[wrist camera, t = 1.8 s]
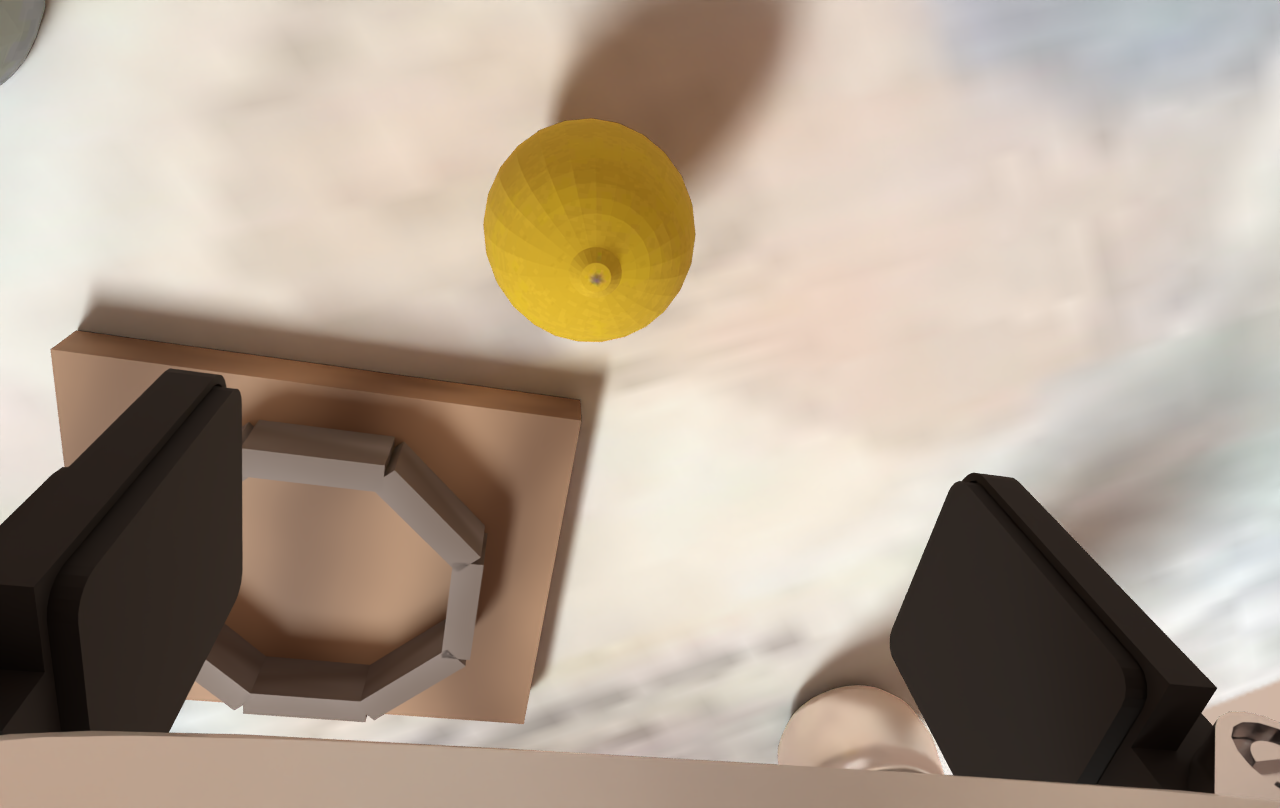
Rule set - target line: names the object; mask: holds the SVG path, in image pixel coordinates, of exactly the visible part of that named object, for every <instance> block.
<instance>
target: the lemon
mask: <svg viewBox="0 0 1280 808" xmlns="http://www.w3.org/2000/svg"><path fill="white" fill-rule="evenodd" d="M483 225H484V234H485V244H486V253H487V257H488V259H489V262H490V265H491V268H492V270H493V273H494V276H495V279H496V281H497V283H498V285H499V286H500V288H501V289H502V290H503V292H504V293H505V295H506V296H507V298H508V299H509V301H510V302H511V304H512V305H513V306H514V307H515V308H516V309H517V310H518V311H519V312H520V313H522V314H523V315H524V316H525V317H526V318H527V319H528V320H530V321H531V322H532V323H533V324H534V325H536V326H538V327H540V328H542V329H544V330H546V331H547V332H549V333H551V334H553V335H555V336H559V337H563V338H567V339H571V340H575V341H584V342H603V341H607V340H612V339H617V338H621V337H625V336H627V335H629V334H631V333H633V332H636V331H638V330H640V329H642V328H644V327H646V326H647V325H648V324H650V323H651V322H652V321H653V320H655V319H656V318H657V317H658V316H659V315H661V314H662V313H663V312H664V311H665V310H666V308H667V307H668V306H669V304H670V303H671V302H672V300H673V299H674V298H675V296H676V295H677V294H678V292H679V291H680V289H681V287H682V285H683V282H684V280H685V278H686V275H687V273H688V271H689V268H690V266H691V262H692V255H693V248H694V241H695V226H694V216H693V207H692V203H691V200H690V197H689V195H688V192H687V189H686V187H685V184H684V181H683V179H682V176H681V175H680V173H679V172H678V170H677V169H676V168H675V166H674V165H673V164H672V162H671V161H670V159H669V158H668V157H667V155H666V154H665V153H664V152H663V151H662V150H661V149H660V148H659V147H657V146H656V145H655V144H654V143H653V142H651V141H650V140H649V139H648V138H647V137H645V136H644V135H643V134H641V133H638V132H636V131H634V130H632V129H630V128H628V127H626V126H624V125H621V124H619V123H616V122H610V121H604V120H599V119H593V118H589V119H579V120H568V121H563V122H560V123H558V124H555V125H552V126H549V127H547V128H544V129H541V130H539V131H538V132H537V133H535V134H534V135H532V136H531V137H530V138H528V139H527V140H525V141H524V142H523V143H521V144H520V145H519V146H517V148H516V149H515V150H514V151H513V153H512V154H511V155H510V156H509V157H508V159H507V160H506V161H505V162H504V164H503V165H502V166H501V167H500V169H499V172H498V174H497V176H496V178H495V180H494V183H493V185H492V187H491V189H490V191H489V194H488V198H487V204H486V211H485V217H484V224H483Z"/></svg>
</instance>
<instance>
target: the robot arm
mask: <svg viewBox="0 0 1280 808" xmlns="http://www.w3.org/2000/svg"><path fill="white" fill-rule="evenodd" d="M242 571H243V541H242V397H241V393H240V391H239V389H234V388H227V387H226V382H225V379H224V377H223V376H222V375H218V374H210V373H202V372H195V371H187V370H179V369H172V368H169V369H168V370H166V371H165V372H164V373H163V374H162V375H161V376H160V377H159V378H158V379H157V380H156V381H155V382H154V383H153V384H152V385H151V386H150V387H149V388H148V389H147V390H146V391H145V392H144V393H143V394H142V395H141V396H140V397H139V398H138V399H137V400H135V401H134V402H133V403H132V404H131V405H130V406H129V407H128V408H127V409H126V410H125V411H124V412H123V413H122V414H121V415H120V416H119V417H118V418H117V419H116V420H115V421H114V422H113V423H112V424H111V425H110V426H109V427H108V428H107V429H106V430H105V431H104V432H103V433H102V434H101V435H100V436H99V437H98V438H97V439H96V440H95V441H94V442H93V443H92V444H91V445H90V446H89V447H88V448H87V449H86V450H85V451H84V452H83V453H82V454H81V455H80V456H79V457H78V458H77V459H76V460H75V461H74V462H73V463H72V464H71V465H70V466H69V467H62V468H61V469H59V470H58V471H56V472H55V473H54V474H52V475H51V476H50V477H49V478H48V479H47V480H46V481H45V482H44V483H43V484H42V485H41V486H40V487H39V488H38V489H37V490H36V491H35V492H34V493H33V494H32V495H31V496H30V497H29V498H28V499H27V500H26V501H25V502H24V503H23V504H21V505H20V506H19V507H18V508H17V509H16V510H15V511H14V512H13V513H12V514H11V515H10V516H9V517H8V518H7V519H6V520H5V521H4V522H3V523H2V524H1V525H0V808H1280V722H1277V721H1275V720H1272V719H1270V718H1267V717H1265V716H1261V715H1257V714H1252V713H1248V712H1228V713H1225V714H1223V715H1221V716H1219V717H1218V719H1217V721H1216V722H1215V724H1214V725H1213V726H1212V724H1211V723H1210V722H1209V721H1208V720H1207V719H1206V718H1205V717H1204V716H1203V715H1202V711H1203V709H1204V708H1205V706H1206V705H1207V703H1208V702H1209V700H1210V699H1211V697H1212V696H1213V694H1214V692H1215V691H1216V689H1217V687H1216V686H1215V685H1214V684H1213V683H1212V682H1211V681H1210V680H1209V679H1208V678H1207V677H1206V676H1205V675H1204V674H1203V673H1202V672H1201V671H1200V670H1199V669H1198V668H1197V666H1196V665H1195V664H1194V663H1193V662H1192V661H1191V660H1190V659H1189V658H1188V657H1187V656H1186V655H1185V654H1184V653H1183V652H1182V651H1181V650H1180V649H1179V648H1178V647H1177V646H1176V645H1175V644H1174V643H1173V642H1172V641H1171V639H1170V638H1169V637H1168V636H1167V635H1166V634H1165V633H1164V632H1163V631H1162V630H1161V629H1160V628H1159V627H1158V626H1157V625H1156V624H1155V623H1154V622H1153V621H1152V620H1151V619H1150V618H1149V617H1148V616H1147V615H1146V614H1145V612H1144V611H1143V610H1142V609H1141V608H1140V607H1139V606H1138V605H1137V604H1136V603H1135V602H1134V601H1133V600H1132V599H1131V598H1130V597H1129V596H1128V595H1127V594H1126V593H1125V592H1124V591H1123V590H1122V589H1121V588H1120V587H1119V585H1118V584H1117V583H1116V582H1115V581H1114V580H1113V579H1112V578H1111V577H1110V576H1109V575H1108V574H1107V573H1106V572H1105V571H1104V570H1103V569H1102V568H1101V567H1100V566H1099V565H1098V564H1097V563H1096V562H1095V561H1094V559H1093V558H1092V557H1091V556H1090V555H1089V554H1088V553H1087V552H1086V551H1085V550H1084V549H1083V548H1082V547H1081V546H1080V545H1079V544H1078V543H1077V542H1076V541H1075V540H1074V539H1073V538H1072V537H1071V536H1070V535H1069V534H1068V532H1067V531H1066V530H1065V529H1064V528H1063V527H1062V526H1061V525H1060V524H1059V523H1058V522H1057V521H1056V520H1055V519H1054V518H1053V517H1052V516H1051V515H1050V514H1049V513H1048V512H1047V511H1046V510H1045V509H1044V508H1043V507H1042V505H1041V504H1040V503H1039V502H1038V501H1037V500H1036V499H1035V498H1034V497H1033V496H1032V495H1031V494H1030V493H1029V492H1028V491H1027V490H1026V489H1025V488H1024V487H1023V486H1022V485H1021V484H1020V483H1019V482H1018V481H1017V480H1015V479H1014V478H1010V477H1003V476H995V475H987V474H979V473H971V474H969V475H967V476H966V477H965V478H964V479H963V480H962V481H958V482H956V483H954V485H953V486H952V487H951V488H950V490H949V492H948V495H947V497H946V499H945V502H944V504H943V507H942V509H941V512H940V514H939V516H938V519H937V521H936V524H935V526H934V529H933V531H932V533H931V536H930V538H929V541H928V543H927V546H926V548H925V550H924V553H923V555H922V558H921V560H920V562H919V565H918V567H917V570H916V572H915V575H914V577H913V579H912V582H911V584H910V587H909V589H908V592H907V594H906V596H905V599H904V601H903V604H902V606H901V608H900V611H899V613H898V616H897V618H896V621H895V623H894V625H893V628H892V631H891V634H890V650H891V655H892V657H893V660H894V662H895V664H896V666H897V667H898V669H899V671H900V673H901V675H902V677H903V679H904V681H905V683H906V685H907V687H908V689H909V691H910V692H911V694H912V696H913V698H914V700H915V702H916V704H917V706H918V708H919V710H920V712H921V714H922V716H923V718H924V719H925V721H926V723H927V725H928V727H929V729H930V731H931V733H932V735H933V737H934V739H935V741H936V743H937V745H938V746H939V748H940V750H941V752H942V754H943V756H944V758H945V760H946V762H947V764H948V766H949V768H950V770H951V771H952V773H953V775H938V774H922V773H906V772H891V771H875V770H858V769H842V768H826V767H810V766H793V765H777V764H760V763H743V762H725V761H708V760H691V759H673V758H656V757H639V756H621V755H604V754H587V753H571V752H554V751H537V750H518V749H499V748H481V747H463V746H444V745H426V744H408V743H389V742H371V741H353V740H335V739H316V738H298V737H280V736H262V735H241V734H201V733H169V731H170V729H171V727H172V725H173V723H174V721H175V719H176V717H177V715H178V713H179V711H180V709H181V708H182V706H183V704H184V702H185V700H186V698H187V696H188V694H189V692H190V690H191V688H192V686H193V684H194V682H195V680H196V678H197V676H198V674H199V672H200V670H201V668H202V666H203V664H204V662H205V660H206V659H207V657H208V655H209V653H210V651H211V649H212V647H213V645H214V643H215V641H216V639H217V637H218V635H219V633H220V631H221V629H222V627H223V625H224V623H225V621H226V619H227V617H228V615H229V613H230V611H231V610H232V608H233V606H234V604H235V601H236V599H237V597H238V593H239V590H240V586H241V581H242Z"/></svg>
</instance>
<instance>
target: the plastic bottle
mask: <svg viewBox="0 0 1280 808" xmlns="http://www.w3.org/2000/svg"><path fill="white" fill-rule="evenodd" d="M778 765H793V766H810V767H826V768H842V769H858V770H875V771H891V772H906V773H922V774H938V775H944V772H943V769H942V766H941V762H940V759H939V756H938V753H937V750H936V747H935V744H934V741H933V738H932V736H931V734H930V733H929V731H928V730H927V729H926V727H925V726H924V724H923V723H922V722H921V720H920V719H919V718H918V716H917V715H916V713H915V712H914V711H913V710H912V708H911V707H910V706H909V704H907V703H906V702H905V701H903V700H902V699H900V698H899V697H897V696H894V695H892V694H890V693H888V692H886V691H884V690H881V689H879V688H876V687H871V686H864V685H852V686H843V687H839V688H835V689H831V690H829V691H826V692H824V693H821V694H819V695H817V696H816V697H814V698H812V699H810V700H809V701H807V702H806V703H805V704H804V705H802V706H801V707H800V708H799V709H798V710H797V711H796V712H795V713H794V714H793V716H792V717H791V719H790V720H789V722H788V724H787V726H786V728H785V730H784V732H783V734H782V737H781V740H780V742H779V745H778Z"/></svg>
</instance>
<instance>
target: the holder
mask: <svg viewBox="0 0 1280 808" xmlns="http://www.w3.org/2000/svg"><path fill="white" fill-rule="evenodd" d="M51 357H52V366H53V374H54V382H55V391H56V399H57V407H58V416H59V424H60V432H61V441H62V449H63V457H64V466H65V467H69V466H70V465H71V464H72V463H73V462H74V461H75V460H76V459H77V458H78V457H79V456H80V455H81V454H82V453H83V452H84V451H85V450H86V449H87V448H88V447H89V446H90V445H91V444H92V443H93V442H94V441H95V440H96V439H97V438H98V437H99V436H100V435H101V434H102V433H103V432H104V431H105V430H106V429H107V428H108V427H109V426H110V425H111V424H112V423H113V422H114V421H115V420H116V419H117V418H118V417H119V416H120V415H121V414H122V413H123V412H124V411H125V410H126V409H127V408H128V407H129V406H130V405H131V404H132V403H133V402H134V401H135V400H137V399H138V398H139V397H140V396H141V395H142V394H143V393H144V392H145V391H146V390H147V389H148V388H149V387H150V386H151V385H152V384H153V383H154V382H155V381H156V380H157V379H158V378H159V377H160V376H161V375H162V374H163V373H164V372H165V371H166V370H168V369H169V368H172V369H179V370H187V371H195V372H202V373H210V374H218V375H222V376H223V377H224V379H225V382H226V387H227V388H234V389H239V391H240V393H241V397H242V541H243V571H242V581H241V586H240V590H239V593H238V597H237V599H236V601H235V604H234V606H233V608H232V610H231V611H230V613H229V615H228V617H227V619H226V621H225V623H224V625H223V627H222V629H221V631H220V633H219V635H218V637H217V639H216V641H215V643H214V645H213V647H212V649H211V651H210V653H209V655H208V657H207V659H206V660H205V662H204V664H203V666H202V668H201V670H200V672H199V674H198V676H197V678H196V680H195V682H194V684H193V686H192V688H191V690H190V692H189V694H188V696H187V698H186V700H199V701H212V702H224V703H225V704H226V705H228V706H229V707H230V708H232V709H233V710H236V709H237V708H239V707H240V706H242V705H243V714H257V715H271V716H286V717H300V718H314V719H328V720H343V721H357V722H365V721H366V717H367V715H368V716H370V717H371V718H372V719H373V720H375V719H377V718H379V717H380V716H382V715H384V714H393V715H407V716H421V717H434V718H448V719H462V720H476V721H490V722H504V723H518V724H524V720H525V714H526V709H527V704H528V699H529V693H530V688H531V683H532V678H533V672H534V667H535V662H536V657H537V651H538V646H539V641H540V636H541V630H542V625H543V620H544V615H545V609H546V604H547V599H548V594H549V588H550V583H551V578H552V573H553V567H554V562H555V557H556V552H557V546H558V541H559V536H560V531H561V525H562V520H563V515H564V510H565V504H566V499H567V494H568V489H569V483H570V478H571V473H572V468H573V462H574V457H575V452H576V447H577V441H578V436H579V431H580V426H581V403H580V400H576V399H568V398H561V397H554V396H547V395H540V394H532V393H525V392H518V391H511V390H503V389H496V388H489V387H482V386H474V385H467V384H460V383H453V382H445V381H438V380H431V379H424V378H417V377H409V376H402V375H395V374H388V373H380V372H373V371H366V370H359V369H351V368H344V367H337V366H330V365H322V364H315V363H308V362H301V361H294V360H286V359H279V358H272V357H265V356H257V355H250V354H243V353H236V352H228V351H221V350H214V349H207V348H200V347H192V346H185V345H178V344H171V343H163V342H156V341H149V340H142V339H134V338H127V337H120V336H113V335H105V334H98V333H91V332H84V331H77V330H76V331H75V332H73V333H72V334H71V335H69V336H68V337H67V338H65V339H64V340H63V341H61V342H60V343H59V344H57V345H56V346H55V347H53V348H52V349H51Z"/></svg>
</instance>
